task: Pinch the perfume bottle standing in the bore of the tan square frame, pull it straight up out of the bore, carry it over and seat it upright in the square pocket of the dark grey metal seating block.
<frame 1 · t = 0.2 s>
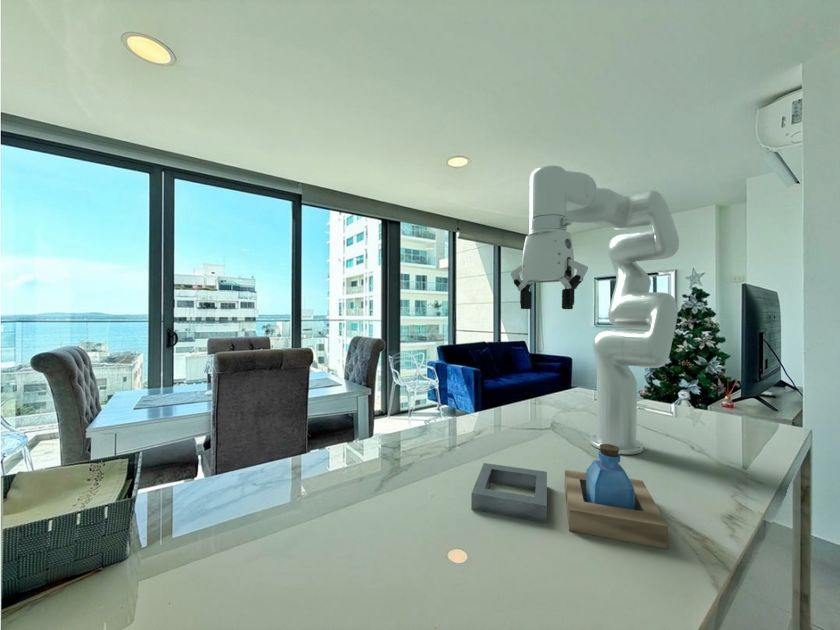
hand: (545, 309, 78), 37 cm above the kitchen island, tool pointing down, fingers open, 9 cm apart
perfume bottle: (608, 514, 66), resting in tan square frame
tan square frame: (608, 513, 66), on the kitchen island
seating block: (511, 497, 72), on the kitchen island
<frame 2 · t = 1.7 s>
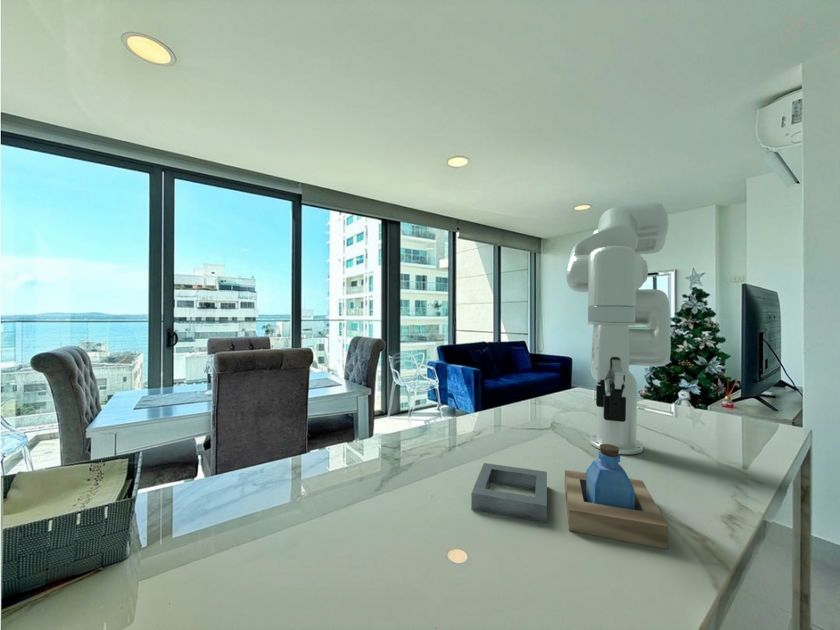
hand: (609, 413, 65), 18 cm above the kitchen island, tool pointing down, fingers open, 9 cm apart
nothing on the kitchen island moved.
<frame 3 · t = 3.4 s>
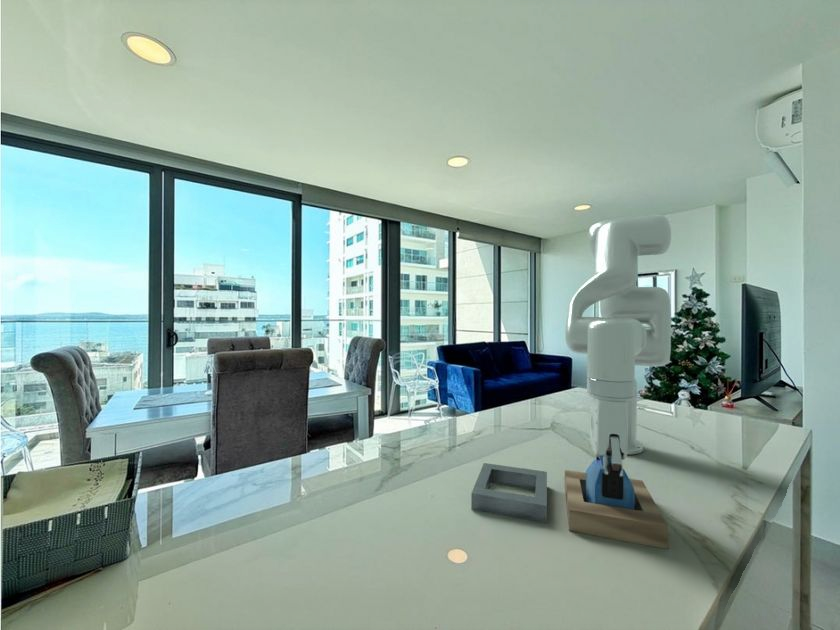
hand: (608, 486, 66), 5 cm above the kitchen island, tool pointing down, fingers closed on perfume bottle, 6 cm apart
perfume bottle: (608, 514, 66), resting in tan square frame, touching gripper
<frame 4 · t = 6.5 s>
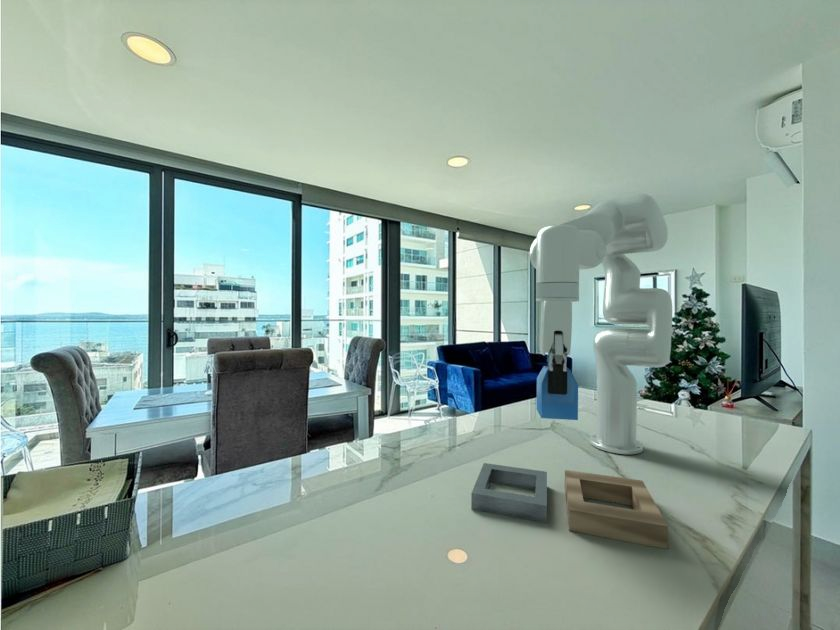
hand: (556, 388, 69), 22 cm above the kitchen island, tool pointing down, fingers closed on perfume bottle, 6 cm apart
perfume bottle: (556, 415, 69), point 17 cm above the kitchen island, touching gripper
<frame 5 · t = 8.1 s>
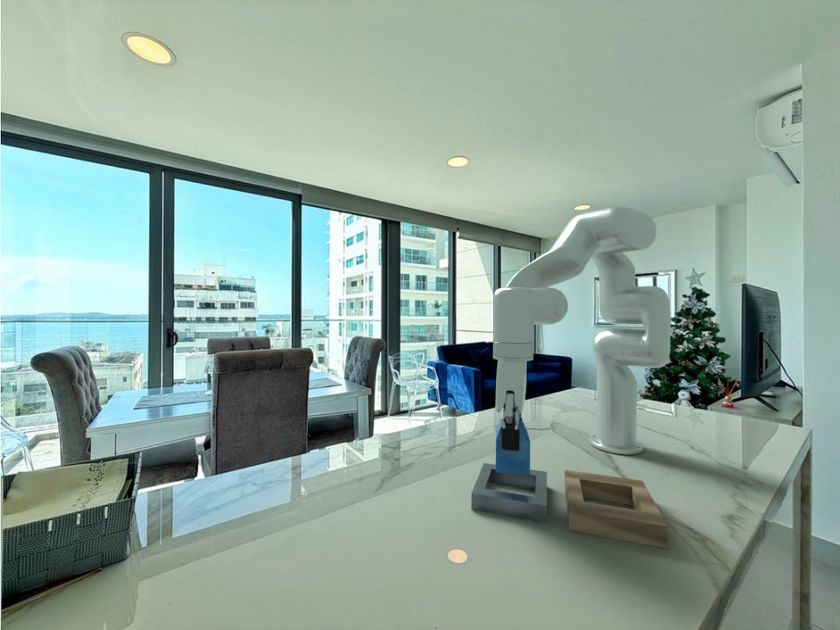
hand: (512, 442, 72), 11 cm above the kitchen island, tool pointing down, fingers closed on perfume bottle, 6 cm apart
perfume bottle: (511, 467, 72), point 6 cm above the kitchen island, touching gripper
when the fingers open (6 cm above the kitchen island, at t = 9.6 s): perfume bottle drops 1 cm, resting in seating block.
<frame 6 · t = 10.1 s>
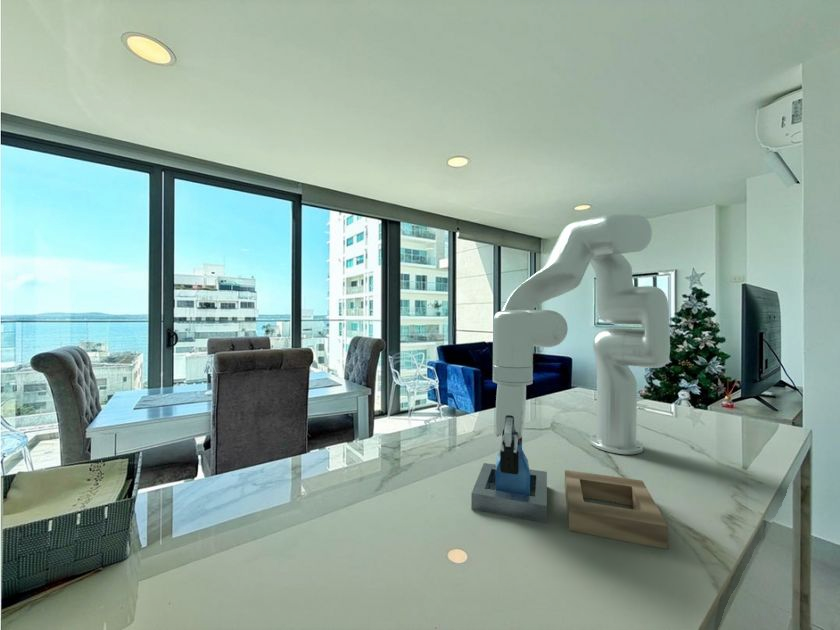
hand: (511, 462, 72), 7 cm above the kitchen island, tool pointing down, fingers open, 9 cm apart
perfume bottle: (512, 498, 72), resting in seating block
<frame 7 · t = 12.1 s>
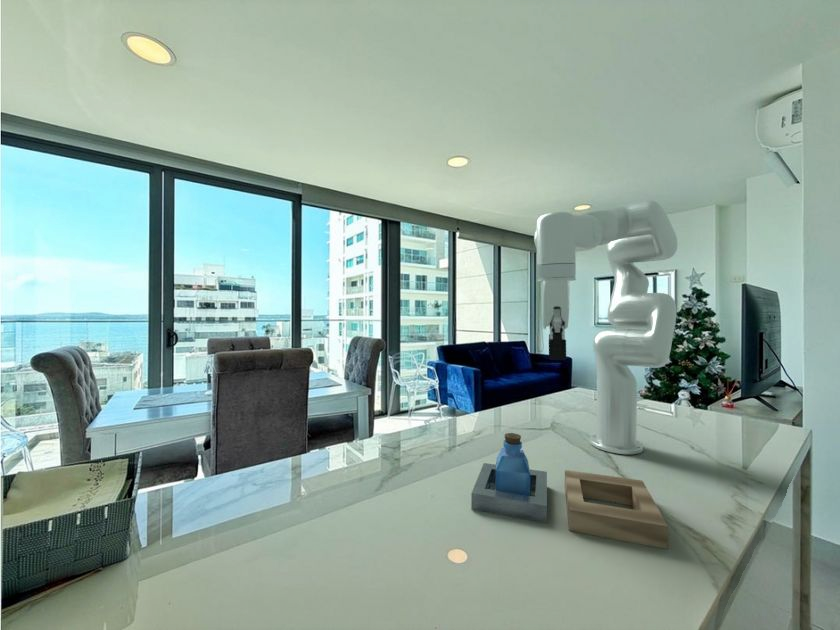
hand: (557, 355, 77), 27 cm above the kitchen island, tool pointing down, fingers open, 9 cm apart
nothing on the kitchen island moved.
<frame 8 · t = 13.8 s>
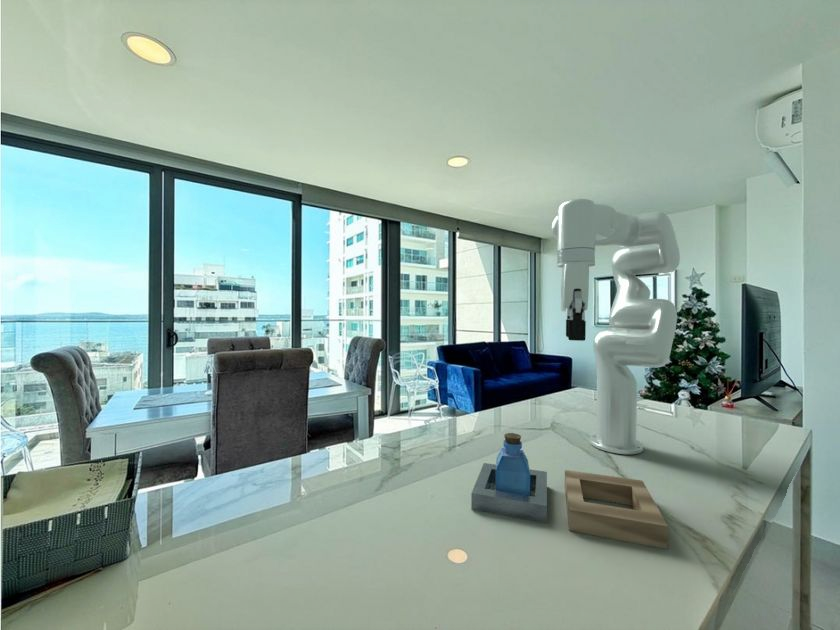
hand: (575, 338, 80), 30 cm above the kitchen island, tool pointing down, fingers open, 9 cm apart
nothing on the kitchen island moved.
at the end: perfume bottle 0.2 cm off-centre on the seating block, point 0.0 cm above the seating block's base; perfume bottle tilted 0°; the gripper is holding nothing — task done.
